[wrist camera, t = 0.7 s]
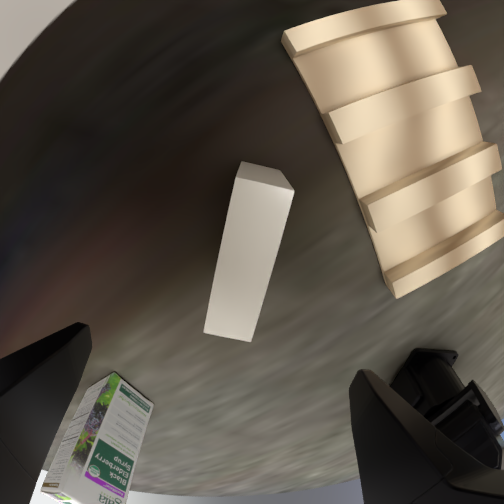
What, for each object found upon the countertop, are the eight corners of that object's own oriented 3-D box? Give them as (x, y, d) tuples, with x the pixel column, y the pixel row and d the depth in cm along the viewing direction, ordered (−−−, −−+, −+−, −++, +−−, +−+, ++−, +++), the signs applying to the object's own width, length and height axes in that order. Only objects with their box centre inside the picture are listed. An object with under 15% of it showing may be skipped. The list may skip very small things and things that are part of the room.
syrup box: (156, 403, 27) (123, 526, 14) (124, 417, 29) (90, 522, 15) (114, 370, 26) (61, 494, 12) (86, 387, 27) (37, 492, 14)
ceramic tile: (280, 170, 19) (294, 191, 12) (251, 280, 22) (251, 341, 15) (241, 161, 19) (235, 176, 12) (216, 272, 22) (203, 332, 15)
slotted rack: (422, 4, 14) (436, -5, 12) (494, 223, 20) (509, 232, 18) (280, 41, 16) (284, 30, 14) (385, 284, 22) (396, 299, 20)
